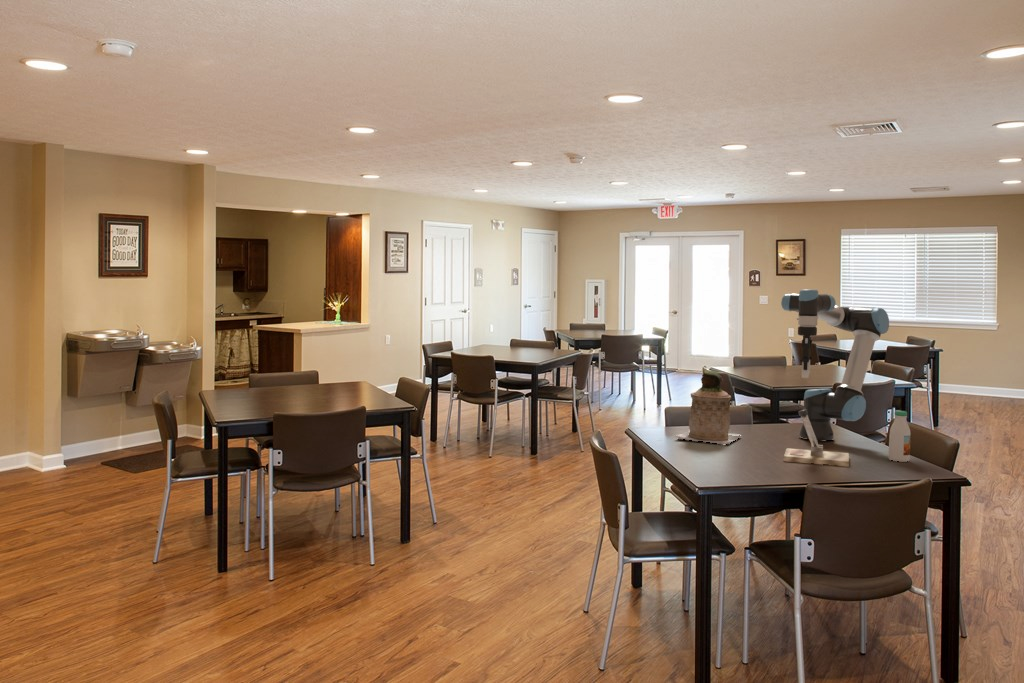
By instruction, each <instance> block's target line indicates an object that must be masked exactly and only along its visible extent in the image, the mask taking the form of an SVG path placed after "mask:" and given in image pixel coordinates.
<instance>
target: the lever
mask: <svg viewBox="0 0 1024 683" xmlns="http://www.w3.org/2000/svg"><path fill="white" fill-rule="evenodd" d="M807 413H808V412H807V409H804V408H803V409H801V410H799V411H798V415H799V416H800V418H801V420H802V424H804V426H805V429H806V432H807V434H808V437H809V440H808V441H809V442H810V445H812V447H819V445H820V444H819V443H818V442H819V441H817V439H816V436H815V434H814V431H813V428H812V426H811V423H810V420H809V418H808V415H807Z"/></svg>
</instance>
